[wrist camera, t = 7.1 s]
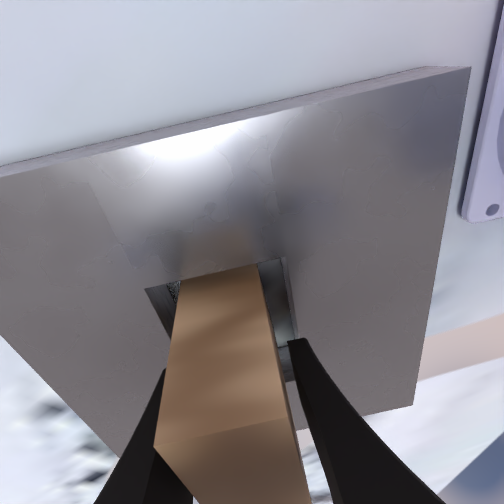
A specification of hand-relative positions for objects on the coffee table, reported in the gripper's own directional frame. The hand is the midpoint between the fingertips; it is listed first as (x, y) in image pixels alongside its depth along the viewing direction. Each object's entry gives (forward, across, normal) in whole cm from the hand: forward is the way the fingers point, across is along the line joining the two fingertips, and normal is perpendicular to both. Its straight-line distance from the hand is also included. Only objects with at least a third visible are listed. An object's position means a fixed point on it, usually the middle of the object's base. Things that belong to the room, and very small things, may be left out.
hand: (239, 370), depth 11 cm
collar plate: (+3, 0, 0) cm, 3 cm away
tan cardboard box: (+3, 0, 0) cm, 4 cm away
